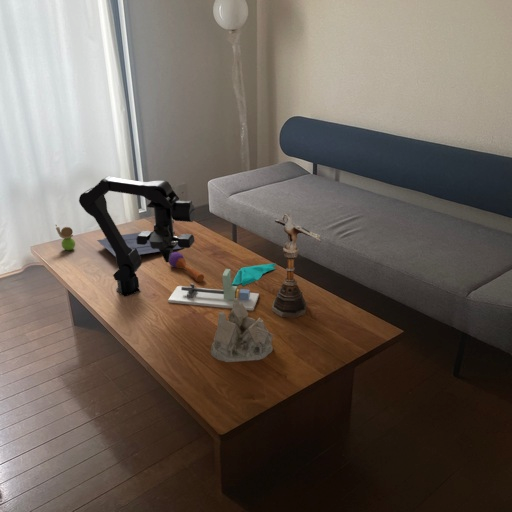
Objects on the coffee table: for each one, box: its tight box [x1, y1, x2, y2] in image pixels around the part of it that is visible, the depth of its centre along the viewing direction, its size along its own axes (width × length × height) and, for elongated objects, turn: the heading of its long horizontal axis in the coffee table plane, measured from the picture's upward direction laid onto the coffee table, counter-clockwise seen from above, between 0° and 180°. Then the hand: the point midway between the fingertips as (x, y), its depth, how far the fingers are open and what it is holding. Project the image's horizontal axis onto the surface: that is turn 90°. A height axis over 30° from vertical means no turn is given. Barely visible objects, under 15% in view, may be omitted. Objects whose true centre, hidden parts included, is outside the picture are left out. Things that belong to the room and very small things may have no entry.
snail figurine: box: [55, 224, 76, 251], centre depth 215 cm, size 5×6×12 cm
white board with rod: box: [167, 282, 260, 312], centre depth 178 cm, size 30×10×5 cm, turn 78°
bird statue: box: [271, 213, 322, 319], centre depth 167 cm, size 17×13×35 cm
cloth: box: [231, 263, 277, 287], centre depth 196 cm, size 26×14×2 cm, turn 126°
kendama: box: [168, 251, 205, 283], centre depth 197 cm, size 6×6×20 cm
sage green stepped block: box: [221, 268, 238, 300], centre depth 175 cm, size 4×5×10 cm
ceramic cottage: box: [210, 298, 274, 363], centre depth 149 cm, size 16×16×15 cm
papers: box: [96, 230, 181, 258], centre depth 218 cm, size 24×30×4 cm
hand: (167, 261), depth 176 cm, fingers closed
